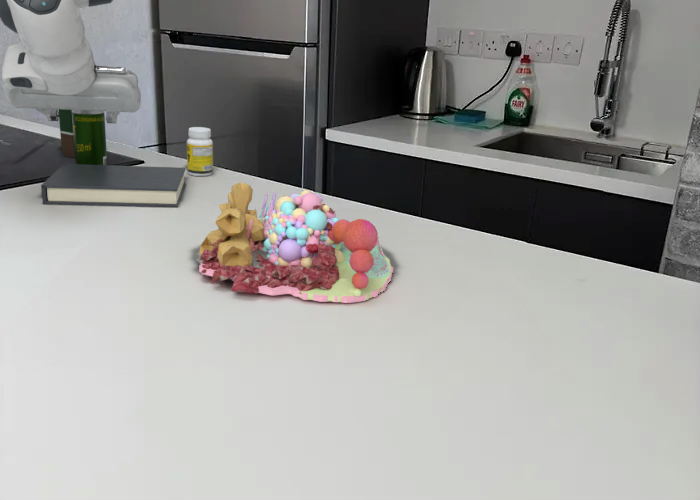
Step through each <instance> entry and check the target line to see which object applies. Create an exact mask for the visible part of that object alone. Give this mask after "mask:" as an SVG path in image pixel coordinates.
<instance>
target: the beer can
mask: <svg viewBox="0 0 700 500" xmlns="http://www.w3.org/2000/svg"><path fill="white" fill-rule="evenodd" d="M72 123H73V137H74V151H75V158H74V162H75V163H74V164H85V165H108V153H107V151H108V150H107V137H106V135H107V134H106V114H105V111H85V110H72Z"/></svg>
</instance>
